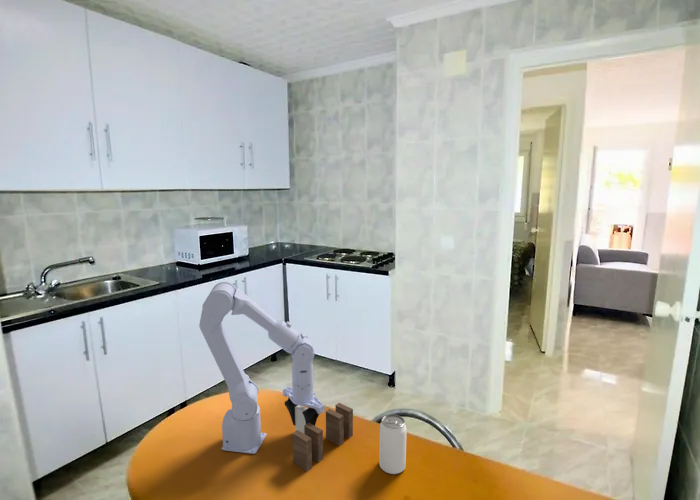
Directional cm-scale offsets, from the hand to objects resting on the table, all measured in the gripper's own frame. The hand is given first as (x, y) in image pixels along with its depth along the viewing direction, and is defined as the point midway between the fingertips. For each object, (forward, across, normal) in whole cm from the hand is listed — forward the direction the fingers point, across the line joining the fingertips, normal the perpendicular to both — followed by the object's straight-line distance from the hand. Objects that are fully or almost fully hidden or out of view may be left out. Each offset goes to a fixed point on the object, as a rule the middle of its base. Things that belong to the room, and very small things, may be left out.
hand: (303, 427), depth 102 cm
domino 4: (+2, -8, -4) cm, 9 cm away
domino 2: (+2, -8, +8) cm, 12 cm away
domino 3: (+2, -8, +4) cm, 9 cm away
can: (+3, -25, -6) cm, 26 cm away
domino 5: (+2, -8, -8) cm, 12 cm away
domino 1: (+2, 0, 0) cm, 2 cm away
